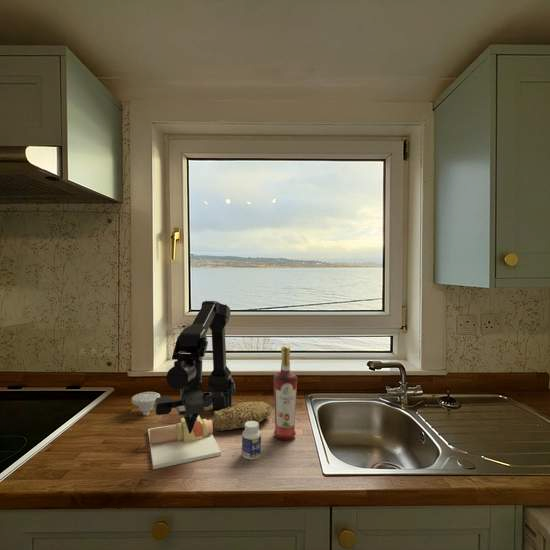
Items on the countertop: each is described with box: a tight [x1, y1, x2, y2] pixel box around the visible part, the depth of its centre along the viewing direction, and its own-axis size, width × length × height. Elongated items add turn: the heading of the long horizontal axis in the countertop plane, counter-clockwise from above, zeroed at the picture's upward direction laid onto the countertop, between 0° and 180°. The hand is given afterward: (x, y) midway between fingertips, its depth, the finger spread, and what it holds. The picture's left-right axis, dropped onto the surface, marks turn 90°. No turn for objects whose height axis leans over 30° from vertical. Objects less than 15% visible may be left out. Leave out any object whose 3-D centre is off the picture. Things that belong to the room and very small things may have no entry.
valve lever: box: [192, 419, 203, 437], centre depth 103 cm, size 13×3×2 cm, turn 23°
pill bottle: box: [241, 421, 262, 461], centre depth 100 cm, size 5×5×9 cm
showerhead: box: [131, 391, 161, 416], centre depth 125 cm, size 9×7×10 cm
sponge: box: [212, 401, 272, 431], centre depth 119 cm, size 13×8×20 cm
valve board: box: [147, 414, 222, 470], centre depth 106 cm, size 18×22×6 cm
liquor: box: [273, 345, 298, 441], centre depth 110 cm, size 7×7×28 cm
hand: (189, 433), depth 99 cm, fingers closed
